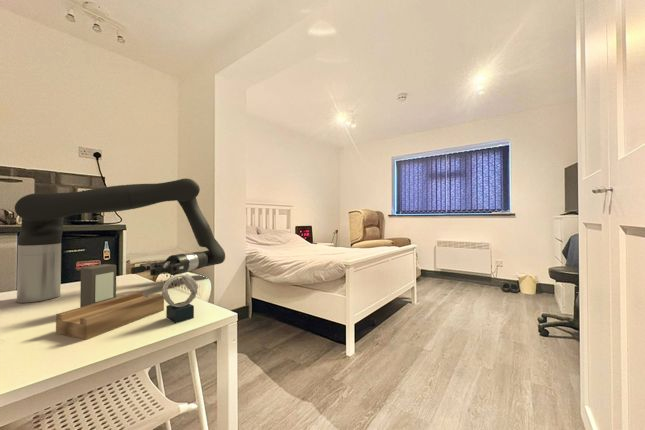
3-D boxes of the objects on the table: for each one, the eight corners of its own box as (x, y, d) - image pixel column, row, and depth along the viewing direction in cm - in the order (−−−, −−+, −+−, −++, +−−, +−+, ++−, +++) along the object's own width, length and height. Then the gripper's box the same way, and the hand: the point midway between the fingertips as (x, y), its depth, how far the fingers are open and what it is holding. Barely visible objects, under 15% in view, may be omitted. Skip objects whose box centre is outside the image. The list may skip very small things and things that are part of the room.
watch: (201, 315, 66) (201, 273, 66) (167, 326, 59) (167, 279, 59) (191, 310, 69) (191, 270, 69) (158, 320, 63) (158, 275, 63)
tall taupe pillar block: (80, 312, 68) (80, 267, 68) (105, 305, 74) (105, 264, 74) (91, 314, 67) (92, 268, 67) (116, 306, 73) (116, 264, 73)
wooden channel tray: (55, 333, 56) (56, 314, 56) (137, 306, 73) (137, 291, 73) (86, 339, 53) (86, 319, 53) (164, 309, 70) (164, 294, 70)
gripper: (168, 252, 100) (125, 259, 84) (197, 254, 95) (158, 261, 80) (168, 271, 100) (125, 281, 84) (197, 274, 95) (157, 285, 80)
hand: (141, 271), depth 82 cm, fingers open, 8 cm apart
